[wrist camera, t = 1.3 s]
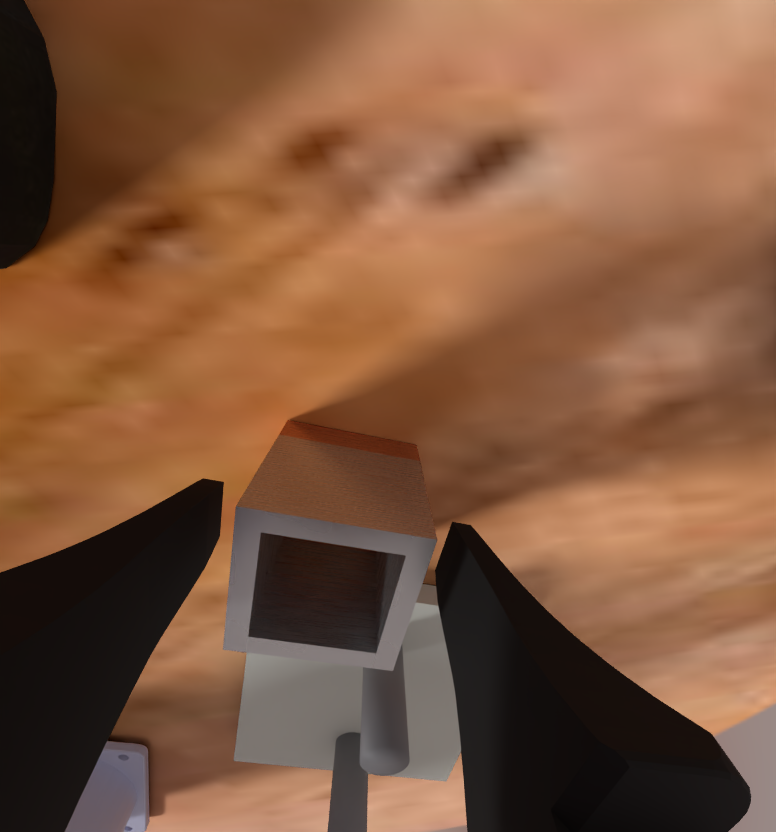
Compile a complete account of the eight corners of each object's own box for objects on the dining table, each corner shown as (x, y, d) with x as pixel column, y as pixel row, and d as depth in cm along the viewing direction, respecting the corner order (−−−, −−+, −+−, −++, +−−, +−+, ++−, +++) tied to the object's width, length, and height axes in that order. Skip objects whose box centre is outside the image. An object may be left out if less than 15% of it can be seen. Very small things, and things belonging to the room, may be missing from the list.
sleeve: (273, 526, 14) (223, 649, 10) (288, 420, 13) (236, 506, 8) (388, 545, 15) (393, 670, 10) (416, 444, 13) (437, 539, 9)
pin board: (240, 737, 19) (196, 886, 15) (263, 559, 15) (212, 690, 10) (443, 757, 20) (462, 902, 16) (517, 598, 16) (574, 732, 11)
